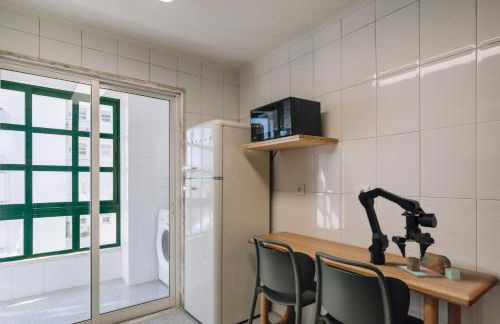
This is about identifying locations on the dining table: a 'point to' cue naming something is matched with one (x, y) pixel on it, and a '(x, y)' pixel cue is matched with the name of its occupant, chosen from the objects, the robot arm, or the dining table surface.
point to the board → (422, 272)
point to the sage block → (452, 273)
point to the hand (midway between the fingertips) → (413, 257)
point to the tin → (435, 262)
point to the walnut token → (413, 264)
